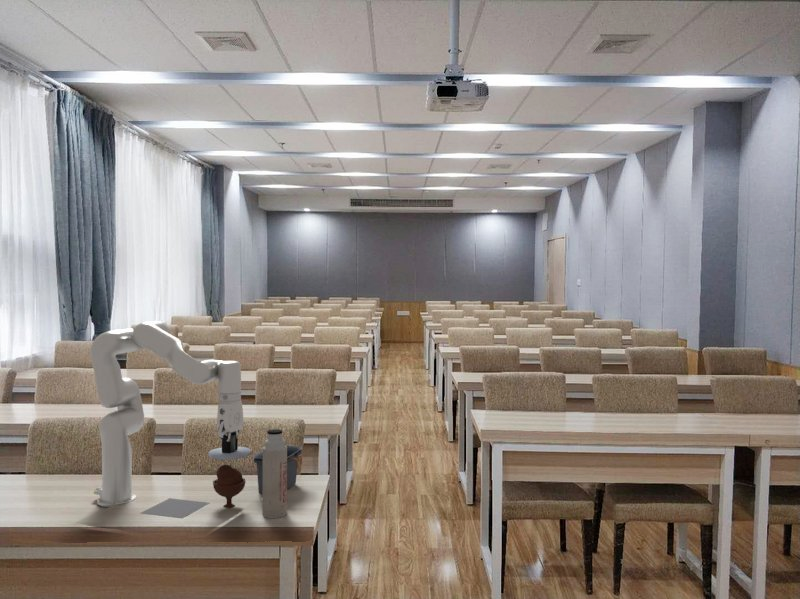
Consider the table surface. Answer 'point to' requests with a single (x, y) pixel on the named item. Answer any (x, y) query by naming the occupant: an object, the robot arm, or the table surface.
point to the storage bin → (291, 466)
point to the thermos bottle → (274, 475)
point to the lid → (234, 453)
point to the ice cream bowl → (228, 483)
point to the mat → (175, 508)
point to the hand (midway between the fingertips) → (229, 450)
